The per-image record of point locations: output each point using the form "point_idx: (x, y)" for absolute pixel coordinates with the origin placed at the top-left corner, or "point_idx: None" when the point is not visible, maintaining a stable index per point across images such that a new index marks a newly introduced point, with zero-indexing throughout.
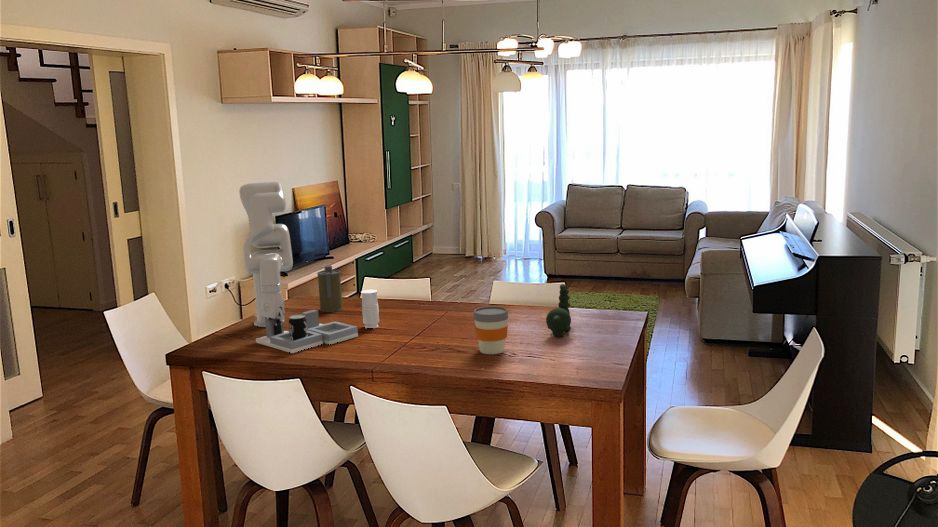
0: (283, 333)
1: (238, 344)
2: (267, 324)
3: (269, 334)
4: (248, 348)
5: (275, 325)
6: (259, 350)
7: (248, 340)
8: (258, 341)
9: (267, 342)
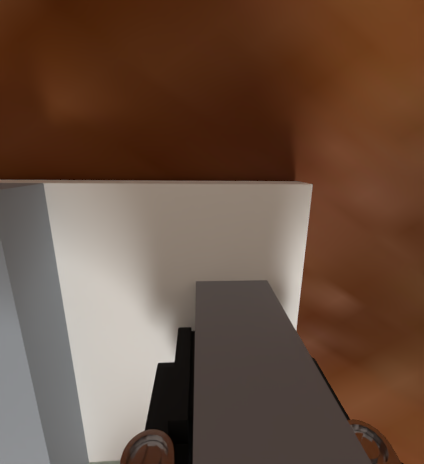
0: (12, 368)
1: (412, 51)
2: (267, 388)
3: (220, 298)
4: (211, 24)
5: (144, 436)
6: (56, 50)
7: (419, 187)
8: (262, 182)
9: (98, 183)
